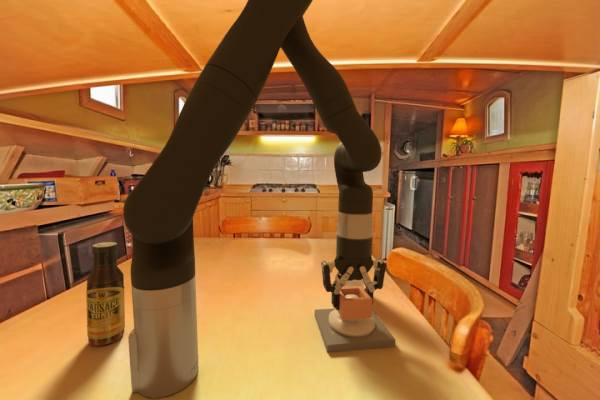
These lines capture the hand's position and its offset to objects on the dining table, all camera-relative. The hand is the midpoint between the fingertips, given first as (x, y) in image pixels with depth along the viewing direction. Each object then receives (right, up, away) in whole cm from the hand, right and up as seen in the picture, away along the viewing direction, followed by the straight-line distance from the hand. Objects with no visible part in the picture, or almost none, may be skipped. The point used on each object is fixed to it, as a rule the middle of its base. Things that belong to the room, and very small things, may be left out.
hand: (352, 307), depth 57 cm
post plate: (0, -5, +1) cm, 5 cm away
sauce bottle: (-51, -5, -3) cm, 51 cm away
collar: (0, -1, 0) cm, 1 cm away
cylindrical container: (+3, -3, +19) cm, 20 cm away
